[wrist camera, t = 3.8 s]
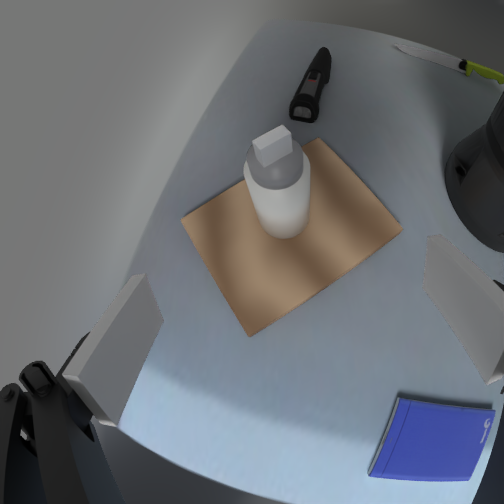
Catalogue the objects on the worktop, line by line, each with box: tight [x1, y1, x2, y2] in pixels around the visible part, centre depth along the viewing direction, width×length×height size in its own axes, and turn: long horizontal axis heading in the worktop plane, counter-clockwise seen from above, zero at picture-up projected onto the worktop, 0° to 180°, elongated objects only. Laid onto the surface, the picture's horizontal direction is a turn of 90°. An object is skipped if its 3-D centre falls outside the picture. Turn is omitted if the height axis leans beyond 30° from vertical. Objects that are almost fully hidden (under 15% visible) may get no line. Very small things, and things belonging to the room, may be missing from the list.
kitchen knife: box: [394, 43, 504, 84], centre depth 34 cm, size 22×1×3 cm, turn 73°
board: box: [181, 137, 403, 337], centre depth 29 cm, size 18×14×1 cm
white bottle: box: [244, 125, 310, 239], centre depth 24 cm, size 5×5×12 cm
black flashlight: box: [289, 47, 331, 123], centre depth 35 cm, size 4×16×3 cm, turn 159°
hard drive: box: [367, 398, 496, 481], centre depth 19 cm, size 2×8×12 cm
